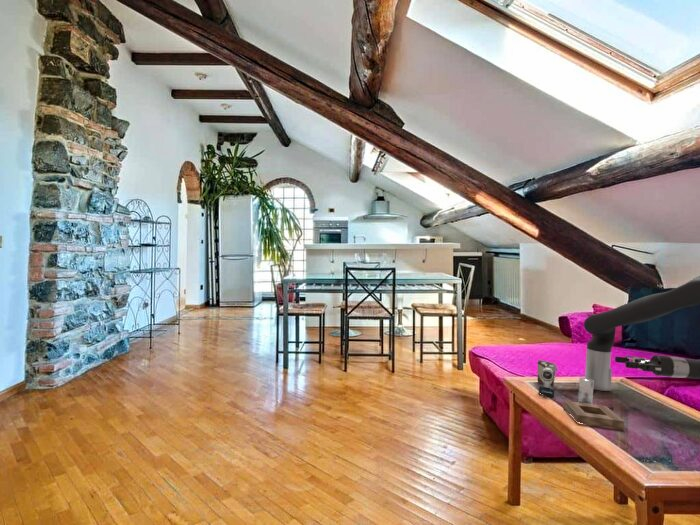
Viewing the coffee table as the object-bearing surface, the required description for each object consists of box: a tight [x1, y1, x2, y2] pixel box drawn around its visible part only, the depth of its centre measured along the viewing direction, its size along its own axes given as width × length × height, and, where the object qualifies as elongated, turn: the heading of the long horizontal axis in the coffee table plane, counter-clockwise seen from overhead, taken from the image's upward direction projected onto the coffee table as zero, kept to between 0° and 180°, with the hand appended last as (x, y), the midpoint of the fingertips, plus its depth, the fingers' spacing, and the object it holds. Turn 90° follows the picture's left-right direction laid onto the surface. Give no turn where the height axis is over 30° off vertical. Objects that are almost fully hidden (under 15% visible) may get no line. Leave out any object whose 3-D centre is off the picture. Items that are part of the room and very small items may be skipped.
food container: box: [536, 359, 558, 387], centre depth 169 cm, size 12×6×10 cm, turn 171°
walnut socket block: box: [563, 400, 625, 431], centre depth 133 cm, size 14×14×4 cm
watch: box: [538, 367, 556, 398], centre depth 157 cm, size 6×8×11 cm
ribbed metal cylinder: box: [577, 377, 594, 404], centre depth 147 cm, size 5×5×10 cm
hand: (620, 361), depth 145 cm, fingers open, 8 cm apart
